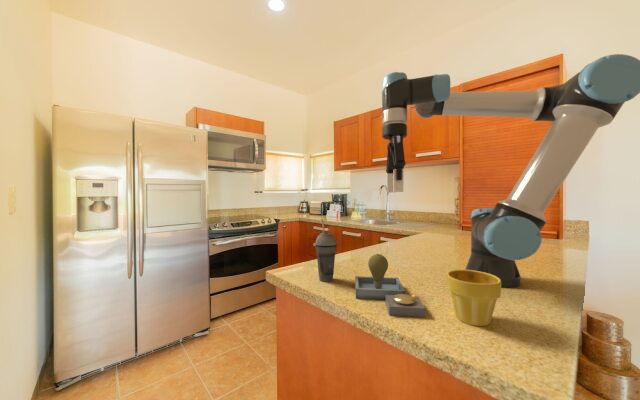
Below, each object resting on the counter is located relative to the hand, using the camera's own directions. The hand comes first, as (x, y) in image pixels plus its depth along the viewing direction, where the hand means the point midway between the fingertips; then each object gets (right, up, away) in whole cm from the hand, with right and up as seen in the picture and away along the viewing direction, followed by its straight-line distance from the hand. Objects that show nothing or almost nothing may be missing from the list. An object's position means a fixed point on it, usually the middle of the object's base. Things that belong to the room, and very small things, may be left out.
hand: (394, 192), depth 81 cm
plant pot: (+10, -29, -24) cm, 39 cm away
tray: (-7, -29, -8) cm, 31 cm away
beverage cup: (-22, -29, +3) cm, 36 cm away
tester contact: (-3, -27, -19) cm, 33 cm away
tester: (-3, -29, -19) cm, 35 cm away
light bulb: (-7, -28, -8) cm, 30 cm away
